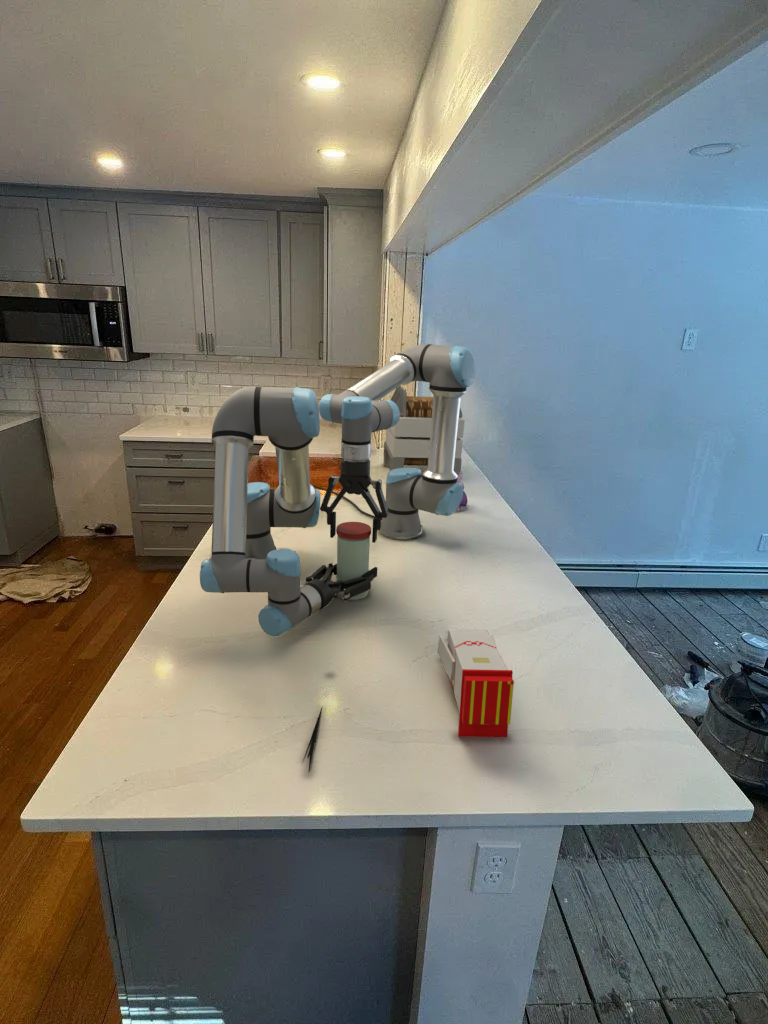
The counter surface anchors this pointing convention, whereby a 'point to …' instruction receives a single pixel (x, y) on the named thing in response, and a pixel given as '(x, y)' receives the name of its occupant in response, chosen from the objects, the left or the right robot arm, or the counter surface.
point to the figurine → (464, 498)
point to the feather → (313, 740)
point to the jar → (352, 560)
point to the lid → (353, 530)
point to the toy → (478, 682)
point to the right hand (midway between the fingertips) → (353, 538)
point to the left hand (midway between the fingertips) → (362, 567)
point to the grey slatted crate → (414, 433)
